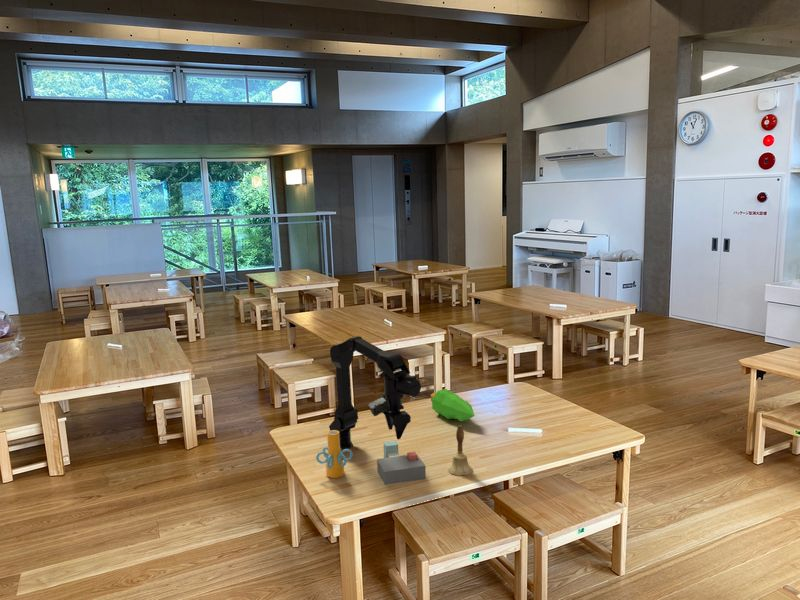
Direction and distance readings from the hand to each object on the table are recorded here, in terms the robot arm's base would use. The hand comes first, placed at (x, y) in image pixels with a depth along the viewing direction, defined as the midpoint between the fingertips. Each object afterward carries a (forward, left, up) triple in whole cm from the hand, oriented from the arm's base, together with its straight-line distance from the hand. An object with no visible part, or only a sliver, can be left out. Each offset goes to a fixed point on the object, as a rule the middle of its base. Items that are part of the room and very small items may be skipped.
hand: (394, 434), depth 206 cm
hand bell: (+11, +20, -12) cm, 25 cm away
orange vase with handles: (0, -21, -12) cm, 24 cm away
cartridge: (+3, 0, -11) cm, 12 cm away
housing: (+8, 0, -11) cm, 14 cm away
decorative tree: (-34, +34, -12) cm, 49 cm away
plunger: (+6, +4, -10) cm, 12 cm away
